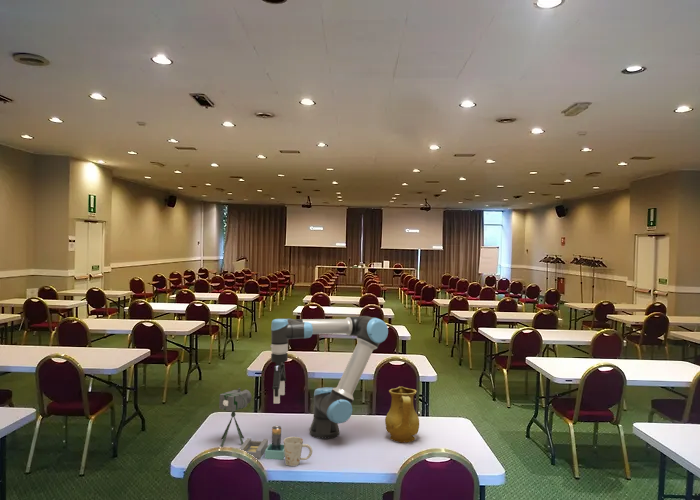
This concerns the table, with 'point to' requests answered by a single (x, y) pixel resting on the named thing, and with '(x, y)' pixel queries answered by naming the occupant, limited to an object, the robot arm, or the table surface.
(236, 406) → the camera
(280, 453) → the tray
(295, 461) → the mug
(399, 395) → the pitcher
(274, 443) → the aa cell
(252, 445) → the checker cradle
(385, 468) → the table surface
